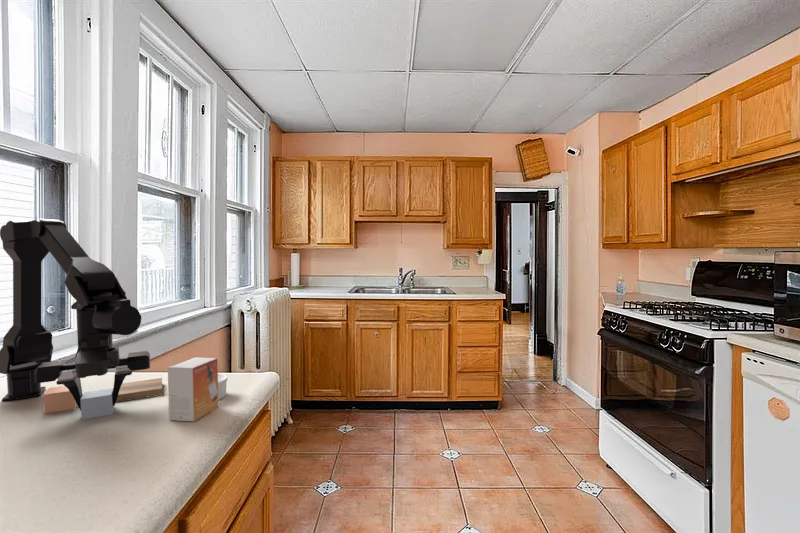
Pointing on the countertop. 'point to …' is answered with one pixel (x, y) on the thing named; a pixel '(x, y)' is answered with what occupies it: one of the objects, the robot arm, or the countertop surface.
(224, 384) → the ramekin
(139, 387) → the base plate
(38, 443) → the countertop surface
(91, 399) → the slate brick
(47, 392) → the terracotta brick
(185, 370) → the small box
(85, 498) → the countertop surface
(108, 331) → the robot arm
